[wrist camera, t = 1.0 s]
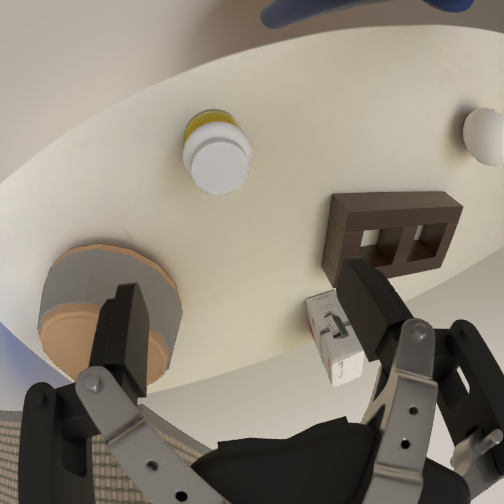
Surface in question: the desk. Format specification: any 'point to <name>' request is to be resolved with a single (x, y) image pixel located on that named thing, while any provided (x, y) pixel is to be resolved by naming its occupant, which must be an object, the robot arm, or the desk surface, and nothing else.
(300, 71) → the desk surface
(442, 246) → the dock
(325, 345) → the ink box
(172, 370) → the desk surface
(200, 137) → the supplement bottle
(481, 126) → the ball
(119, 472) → the desk lamp
